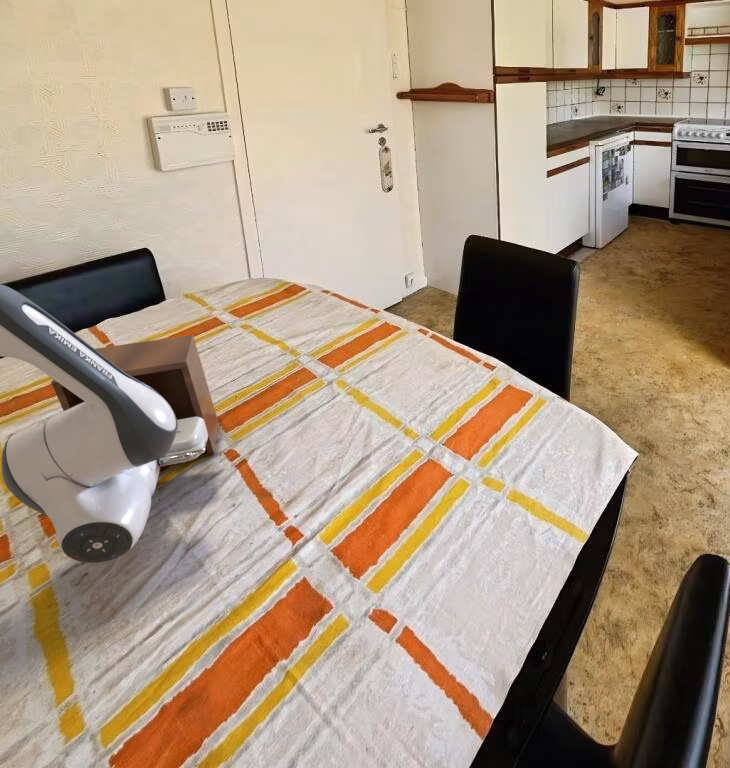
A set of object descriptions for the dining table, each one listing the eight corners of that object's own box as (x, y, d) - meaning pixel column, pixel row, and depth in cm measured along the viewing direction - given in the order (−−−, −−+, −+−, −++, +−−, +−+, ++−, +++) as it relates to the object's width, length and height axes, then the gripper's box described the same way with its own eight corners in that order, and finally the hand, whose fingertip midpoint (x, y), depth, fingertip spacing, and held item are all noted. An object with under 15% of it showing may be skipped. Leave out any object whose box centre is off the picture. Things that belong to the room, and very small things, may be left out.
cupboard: (93, 482, 99) (51, 382, 90) (107, 445, 108) (70, 352, 99) (215, 458, 104) (186, 361, 95) (219, 425, 113) (192, 334, 105)
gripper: (198, 436, 88) (206, 392, 99) (29, 467, 82) (58, 416, 93) (209, 472, 91) (216, 425, 102) (47, 505, 85) (73, 451, 96)
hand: (139, 421), depth 98 cm, fingers closed on beer can, 5 cm apart
